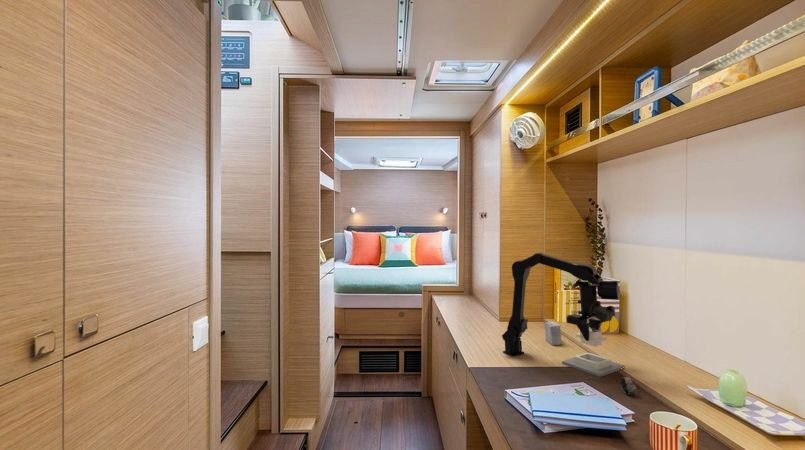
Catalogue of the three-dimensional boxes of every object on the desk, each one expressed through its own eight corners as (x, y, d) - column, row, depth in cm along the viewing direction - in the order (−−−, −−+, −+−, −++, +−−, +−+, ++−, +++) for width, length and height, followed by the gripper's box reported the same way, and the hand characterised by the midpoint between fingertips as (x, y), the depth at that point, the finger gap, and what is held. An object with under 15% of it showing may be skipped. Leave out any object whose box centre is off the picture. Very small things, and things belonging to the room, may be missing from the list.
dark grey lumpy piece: (623, 398, 120) (630, 390, 117) (618, 382, 124) (624, 374, 120) (633, 398, 120) (640, 391, 116) (627, 382, 124) (634, 375, 120)
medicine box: (561, 345, 169) (560, 325, 169) (551, 345, 169) (550, 326, 170) (555, 339, 177) (554, 321, 177) (545, 340, 177) (544, 321, 177)
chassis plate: (600, 377, 133) (599, 368, 133) (562, 363, 147) (561, 355, 147) (625, 368, 139) (624, 360, 140) (586, 356, 154) (586, 348, 154)
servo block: (599, 347, 138) (598, 331, 138) (576, 341, 147) (575, 325, 147) (607, 345, 140) (606, 329, 140) (583, 339, 149) (582, 324, 149)
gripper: (591, 304, 132) (593, 349, 132) (624, 297, 141) (627, 340, 141) (564, 300, 142) (566, 342, 142) (597, 293, 151) (599, 333, 151)
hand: (590, 339), depth 144 cm, fingers closed on servo block, 4 cm apart
